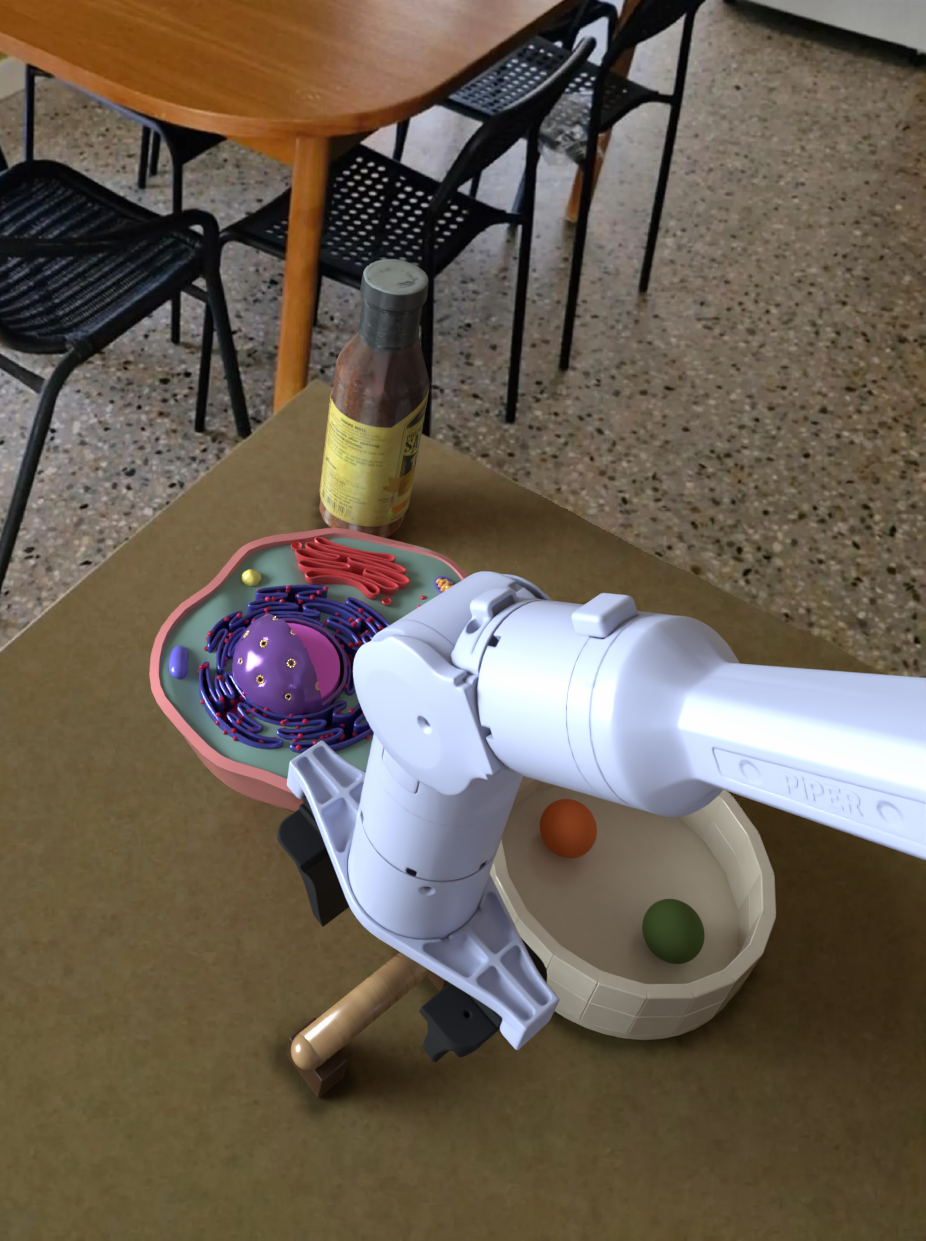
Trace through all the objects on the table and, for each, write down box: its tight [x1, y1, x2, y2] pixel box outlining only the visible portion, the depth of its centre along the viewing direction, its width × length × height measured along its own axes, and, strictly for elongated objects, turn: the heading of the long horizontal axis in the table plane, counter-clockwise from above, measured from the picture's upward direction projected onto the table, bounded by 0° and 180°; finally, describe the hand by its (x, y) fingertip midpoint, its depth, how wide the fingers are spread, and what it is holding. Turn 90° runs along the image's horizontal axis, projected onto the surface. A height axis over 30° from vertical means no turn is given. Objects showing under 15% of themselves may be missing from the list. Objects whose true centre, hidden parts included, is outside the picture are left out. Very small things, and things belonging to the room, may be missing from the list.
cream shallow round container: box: [490, 776, 777, 1041], centre depth 65 cm, size 14×14×4 cm
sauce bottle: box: [319, 258, 431, 539], centre depth 81 cm, size 7×6×20 cm
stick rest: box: [285, 972, 450, 1099], centre depth 60 cm, size 10×2×2 cm, turn 128°
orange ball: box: [540, 799, 597, 858], centre depth 67 cm, size 3×3×3 cm
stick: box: [291, 951, 432, 1071], centre depth 59 cm, size 11×2×2 cm, turn 128°
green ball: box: [642, 899, 705, 964], centre depth 63 cm, size 3×3×3 cm
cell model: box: [148, 527, 470, 813], centre depth 70 cm, size 17×20×11 cm
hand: (387, 973), depth 58 cm, fingers open, 7 cm apart
